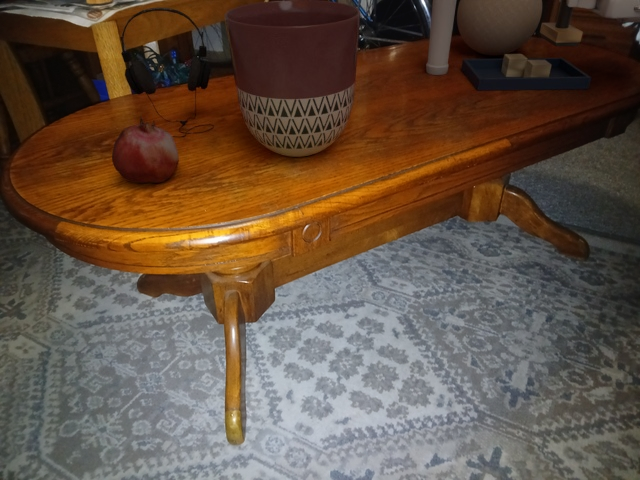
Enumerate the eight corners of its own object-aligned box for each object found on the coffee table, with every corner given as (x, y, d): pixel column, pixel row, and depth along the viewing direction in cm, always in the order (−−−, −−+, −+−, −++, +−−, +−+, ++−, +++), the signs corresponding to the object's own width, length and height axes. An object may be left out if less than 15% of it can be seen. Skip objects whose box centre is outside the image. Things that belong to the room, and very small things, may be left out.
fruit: (109, 177, 78) (92, 114, 73) (166, 159, 83) (154, 99, 78) (133, 199, 73) (116, 133, 67) (193, 179, 77) (182, 115, 72)
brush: (561, 36, 112) (577, -30, 105) (579, 46, 104) (597, -24, 97) (538, 36, 112) (552, -30, 105) (554, 46, 104) (571, -24, 97)
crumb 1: (518, 71, 119) (521, 53, 117) (523, 76, 116) (527, 58, 113) (500, 71, 119) (504, 54, 117) (506, 76, 116) (509, 58, 113)
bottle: (427, 75, 119) (440, -48, 105) (423, 69, 123) (435, -50, 109) (450, 75, 119) (465, -48, 105) (444, 68, 123) (459, -51, 109)
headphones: (132, 141, 90) (103, 19, 78) (138, 118, 99) (112, 6, 87) (219, 134, 92) (203, 14, 81) (217, 112, 101) (202, 2, 90)
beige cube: (540, 77, 115) (545, 59, 113) (547, 83, 111) (551, 64, 109) (522, 78, 115) (526, 59, 113) (528, 83, 112) (532, 64, 109)
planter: (256, 125, 95) (245, -1, 83) (361, 129, 93) (365, 0, 80) (224, 172, 79) (205, 25, 67) (350, 179, 77) (353, 28, 65)
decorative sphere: (482, 41, 145) (495, -39, 134) (547, 55, 132) (567, -33, 121) (436, 53, 135) (445, -32, 123) (502, 70, 122) (519, -24, 110)
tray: (560, 68, 122) (562, 57, 121) (588, 89, 109) (591, 77, 108) (461, 69, 123) (462, 59, 121) (477, 90, 110) (479, 78, 108)
